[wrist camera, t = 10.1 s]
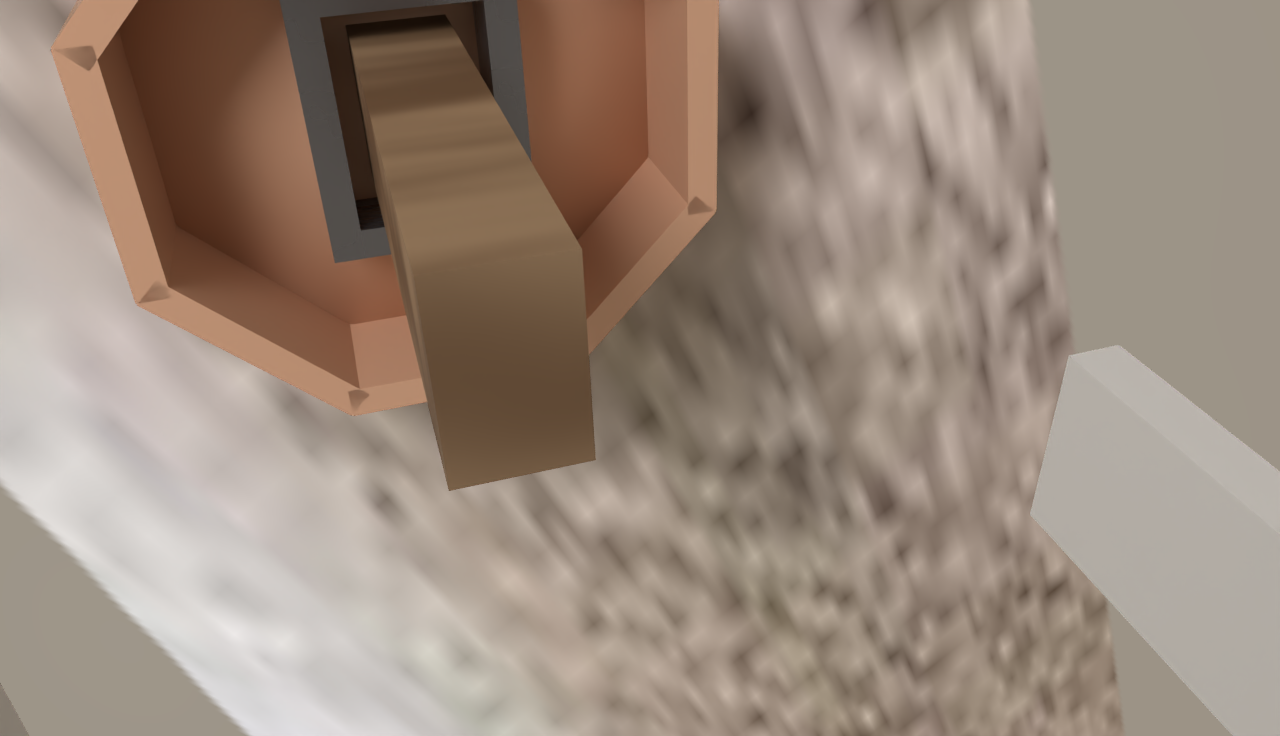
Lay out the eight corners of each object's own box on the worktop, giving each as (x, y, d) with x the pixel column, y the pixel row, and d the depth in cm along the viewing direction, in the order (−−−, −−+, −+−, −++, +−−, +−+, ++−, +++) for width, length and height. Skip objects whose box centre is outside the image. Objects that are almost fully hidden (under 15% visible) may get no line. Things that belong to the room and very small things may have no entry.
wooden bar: (345, 24, 27) (414, 276, 15) (445, 14, 27) (582, 248, 16) (372, 174, 29) (449, 490, 17) (463, 161, 29) (595, 459, 18)
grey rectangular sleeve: (274, -35, 25) (276, -15, 24) (497, -55, 27) (513, -39, 25) (330, 231, 29) (334, 263, 28) (522, 202, 30) (538, 231, 29)
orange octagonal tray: (16, -207, 23) (-28, -186, 19) (656, -242, 26) (721, -231, 23) (191, 359, 31) (183, 448, 27) (666, 276, 34) (715, 346, 31)
